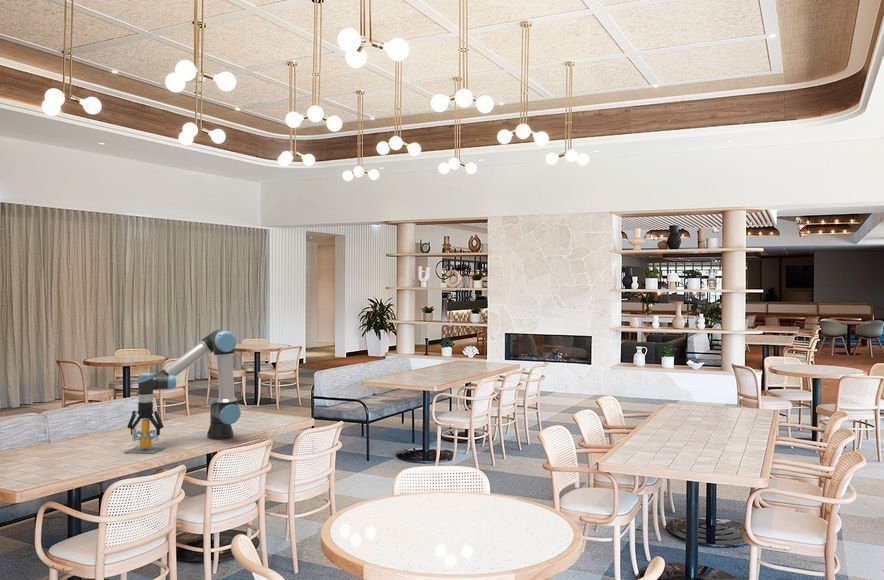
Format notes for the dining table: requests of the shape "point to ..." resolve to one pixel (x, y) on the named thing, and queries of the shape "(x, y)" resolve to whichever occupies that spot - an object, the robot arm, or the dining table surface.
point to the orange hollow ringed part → (145, 434)
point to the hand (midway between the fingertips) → (145, 441)
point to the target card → (144, 450)
